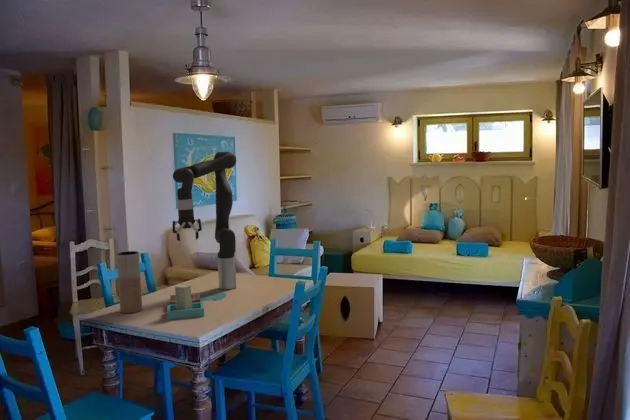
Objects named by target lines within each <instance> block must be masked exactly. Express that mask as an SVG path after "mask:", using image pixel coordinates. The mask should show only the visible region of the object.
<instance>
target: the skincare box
mask: <svg viewBox="0 0 630 420" xmlns="http://www.w3.org/2000/svg"><path fill="white" fill-rule="evenodd" d="M174 292H175V294H174V295H176V308H177V310H186V309H192V297H191V294H192V287H191V285H189V284H188V285H187V284H178V285H176V286H174Z"/></svg>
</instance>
